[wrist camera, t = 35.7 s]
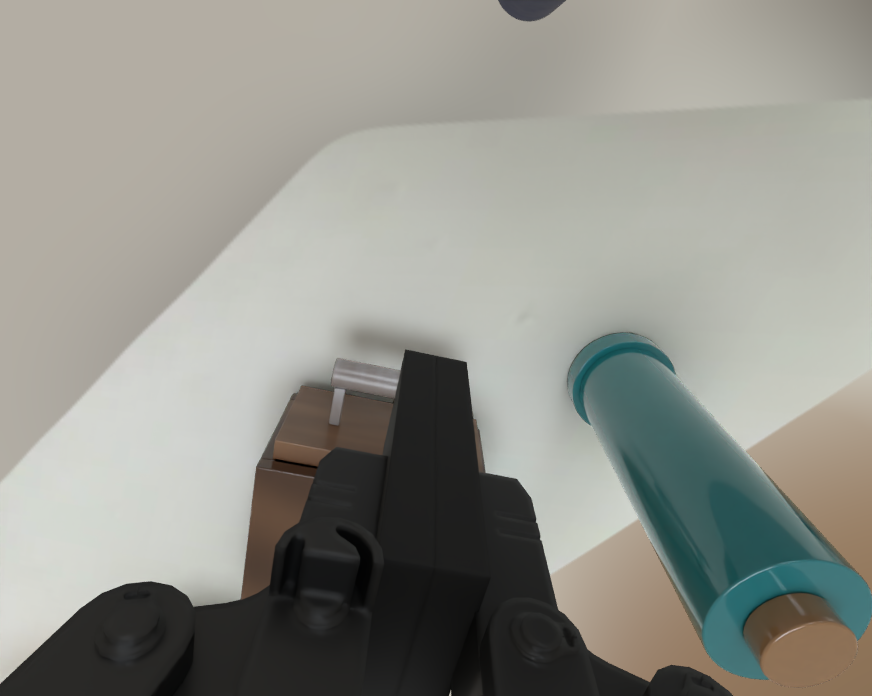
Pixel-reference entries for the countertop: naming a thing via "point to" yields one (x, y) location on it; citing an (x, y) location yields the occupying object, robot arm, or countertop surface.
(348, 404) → the drawer
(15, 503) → the countertop surface
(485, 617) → the robot arm
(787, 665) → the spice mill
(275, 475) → the cabinet
